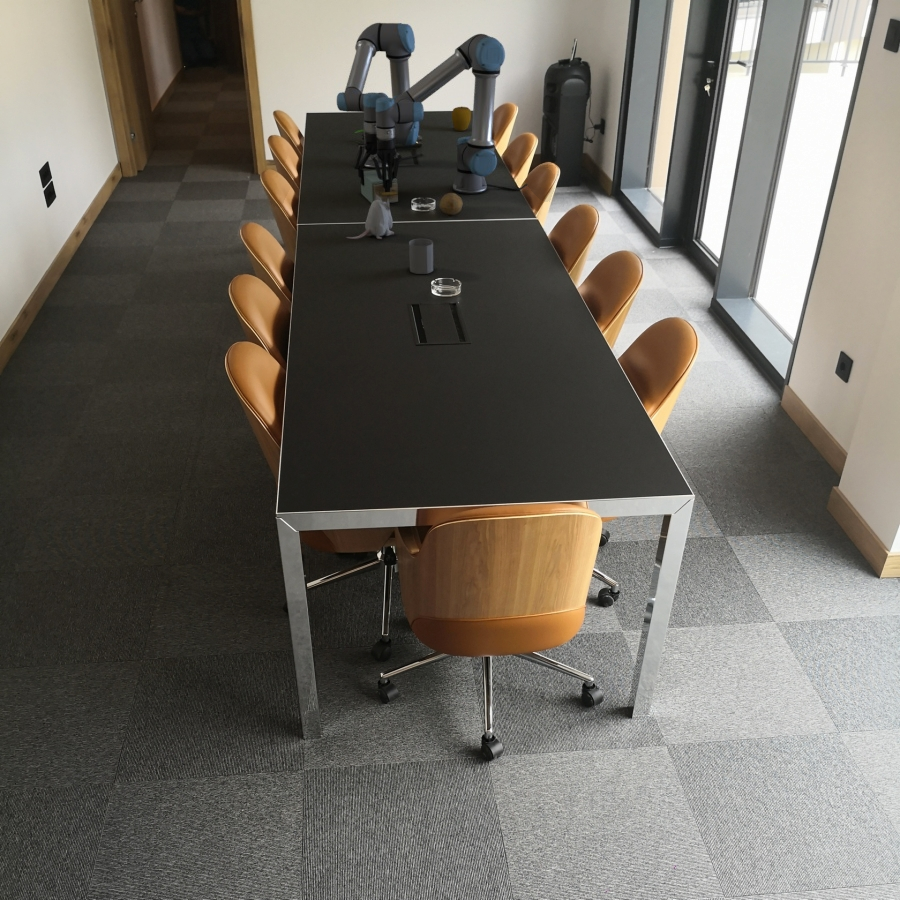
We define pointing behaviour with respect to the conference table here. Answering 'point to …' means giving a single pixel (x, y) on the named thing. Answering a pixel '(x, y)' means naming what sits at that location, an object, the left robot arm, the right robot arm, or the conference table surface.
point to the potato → (451, 204)
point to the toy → (378, 220)
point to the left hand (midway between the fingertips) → (375, 183)
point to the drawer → (383, 195)
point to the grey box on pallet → (372, 184)
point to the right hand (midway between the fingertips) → (387, 195)
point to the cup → (421, 256)
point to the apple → (461, 118)
